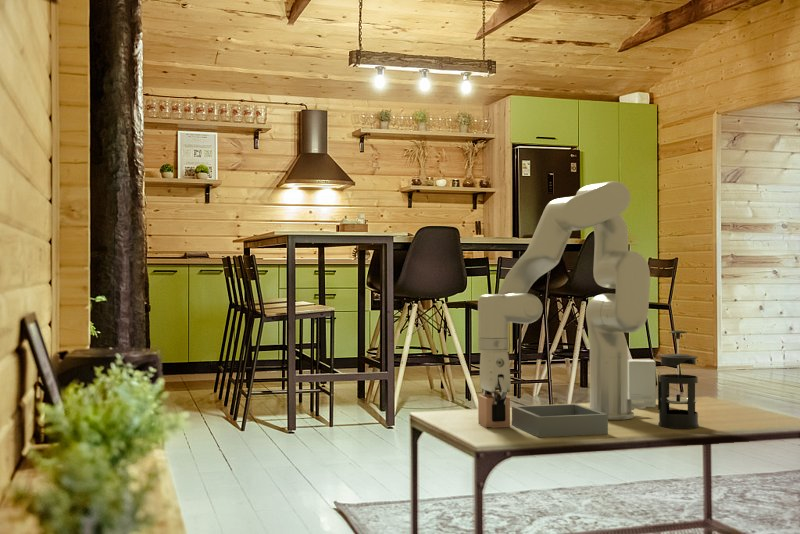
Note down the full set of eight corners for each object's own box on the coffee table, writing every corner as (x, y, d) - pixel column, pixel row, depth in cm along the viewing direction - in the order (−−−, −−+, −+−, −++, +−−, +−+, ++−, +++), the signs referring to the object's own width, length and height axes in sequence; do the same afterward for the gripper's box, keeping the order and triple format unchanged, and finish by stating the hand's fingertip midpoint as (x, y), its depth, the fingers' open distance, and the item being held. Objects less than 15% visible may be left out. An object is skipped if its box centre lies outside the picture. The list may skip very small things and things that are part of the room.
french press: (709, 427, 211) (709, 331, 211) (678, 430, 208) (677, 332, 208) (675, 420, 222) (675, 328, 222) (645, 423, 218) (645, 329, 219)
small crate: (501, 422, 219) (501, 394, 219) (510, 426, 213) (509, 397, 213) (478, 423, 218) (478, 395, 218) (486, 427, 212) (486, 398, 212)
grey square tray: (576, 422, 220) (576, 403, 220) (607, 434, 204) (607, 414, 204) (511, 424, 216) (511, 406, 216) (538, 437, 200) (538, 417, 200)
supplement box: (656, 407, 243) (656, 361, 244) (628, 406, 245) (628, 361, 245) (654, 403, 251) (653, 359, 251) (627, 403, 252) (626, 358, 252)
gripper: (520, 347, 208) (521, 424, 208) (496, 341, 225) (496, 412, 225) (490, 348, 206) (491, 425, 206) (468, 342, 223) (468, 414, 223)
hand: (494, 418), depth 216 cm, fingers closed on small crate, 6 cm apart
